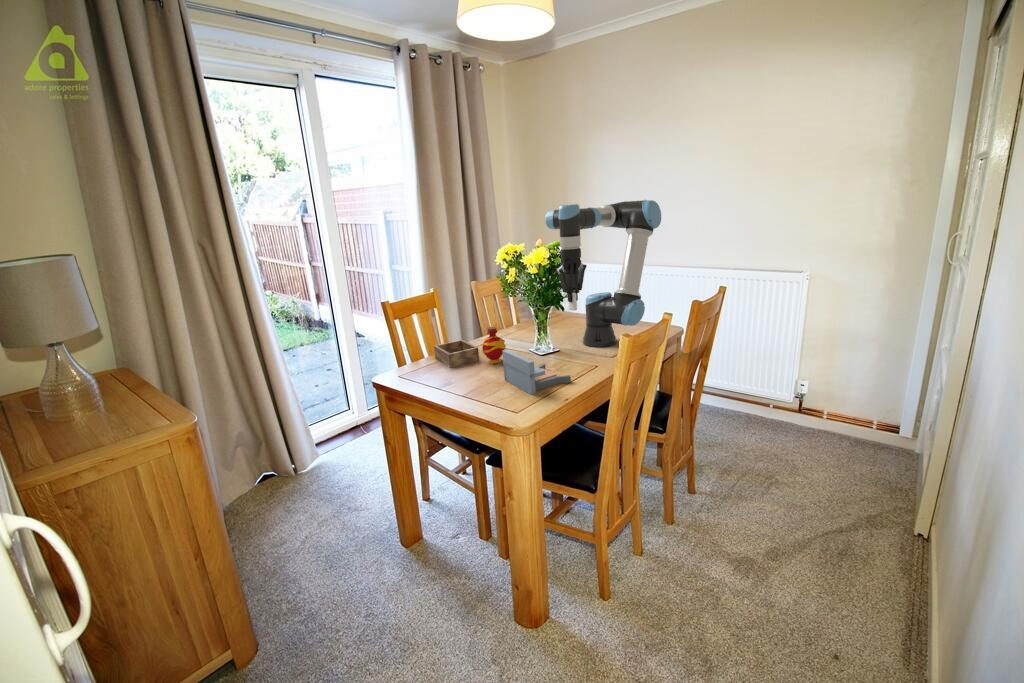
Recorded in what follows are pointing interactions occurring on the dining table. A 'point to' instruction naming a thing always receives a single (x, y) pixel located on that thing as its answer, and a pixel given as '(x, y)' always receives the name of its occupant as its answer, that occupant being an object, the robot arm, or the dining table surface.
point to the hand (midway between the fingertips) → (573, 309)
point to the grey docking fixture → (527, 373)
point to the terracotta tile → (547, 375)
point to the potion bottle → (493, 346)
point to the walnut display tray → (456, 353)
